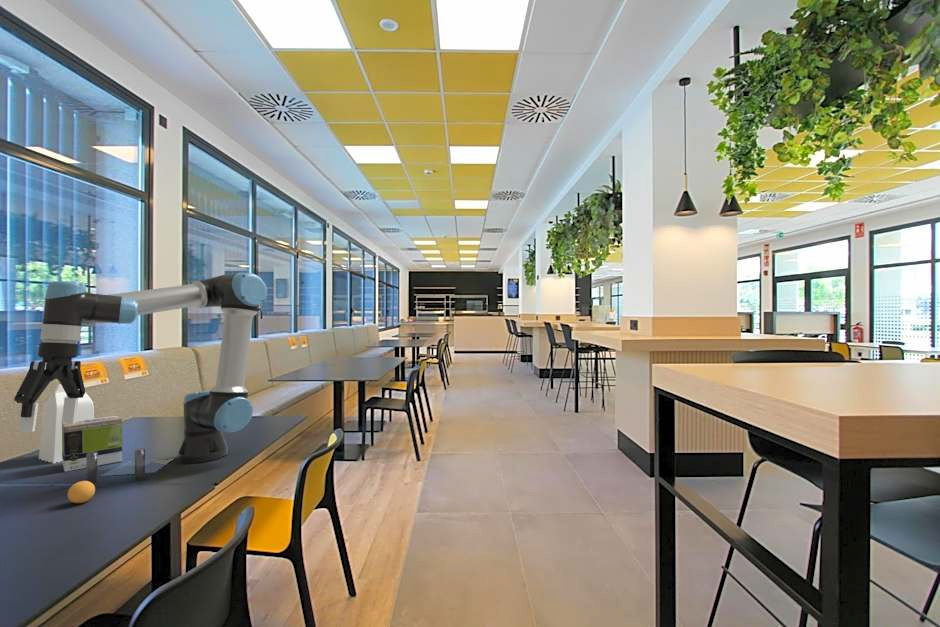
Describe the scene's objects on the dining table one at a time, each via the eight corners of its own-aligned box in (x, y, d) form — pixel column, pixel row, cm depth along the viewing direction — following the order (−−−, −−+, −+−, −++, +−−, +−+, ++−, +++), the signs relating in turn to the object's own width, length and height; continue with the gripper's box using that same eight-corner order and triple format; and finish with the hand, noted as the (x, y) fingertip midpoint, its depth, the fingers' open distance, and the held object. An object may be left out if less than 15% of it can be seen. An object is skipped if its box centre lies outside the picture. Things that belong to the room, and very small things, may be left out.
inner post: (146, 478, 137) (146, 448, 137) (142, 481, 134) (142, 450, 134) (137, 479, 136) (137, 449, 136) (132, 481, 134) (133, 451, 134)
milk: (80, 450, 169) (81, 380, 169) (96, 454, 163) (96, 382, 164) (38, 459, 158) (39, 384, 159) (53, 463, 153) (54, 386, 153)
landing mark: (175, 458, 157) (175, 458, 157) (154, 472, 142) (154, 472, 142) (126, 462, 154) (126, 461, 154) (100, 476, 139) (100, 475, 139)
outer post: (99, 481, 134) (99, 451, 134) (94, 484, 132) (94, 453, 132) (89, 482, 134) (89, 451, 134) (84, 485, 131) (84, 454, 131)
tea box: (118, 456, 161) (118, 414, 161) (122, 462, 154) (122, 418, 154) (61, 465, 150) (61, 421, 151) (63, 472, 143) (63, 425, 143)
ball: (99, 497, 122) (99, 477, 122) (86, 505, 116) (87, 484, 116) (76, 499, 120) (76, 478, 121) (62, 507, 115) (62, 485, 115)
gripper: (77, 343, 127) (67, 419, 125) (0, 339, 102) (-13, 435, 100) (106, 344, 128) (97, 420, 126) (38, 340, 104) (25, 435, 101)
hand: (48, 427), depth 113 cm, fingers open, 13 cm apart
